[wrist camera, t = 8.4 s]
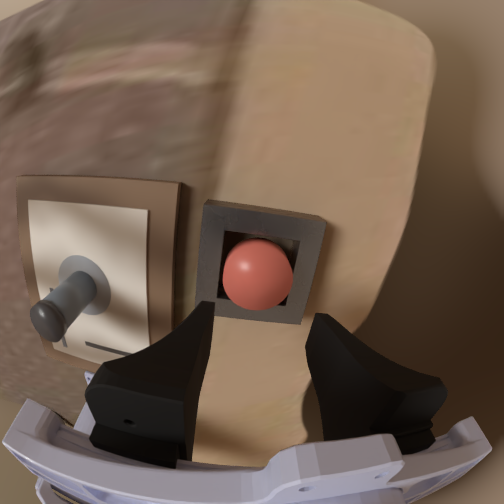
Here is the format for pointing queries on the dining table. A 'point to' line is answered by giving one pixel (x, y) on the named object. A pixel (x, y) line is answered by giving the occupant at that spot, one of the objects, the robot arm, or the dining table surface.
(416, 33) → the dining table surface
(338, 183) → the dining table surface
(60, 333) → the gray capped cylinder
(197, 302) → the button housing
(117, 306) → the drawing board
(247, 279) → the button
